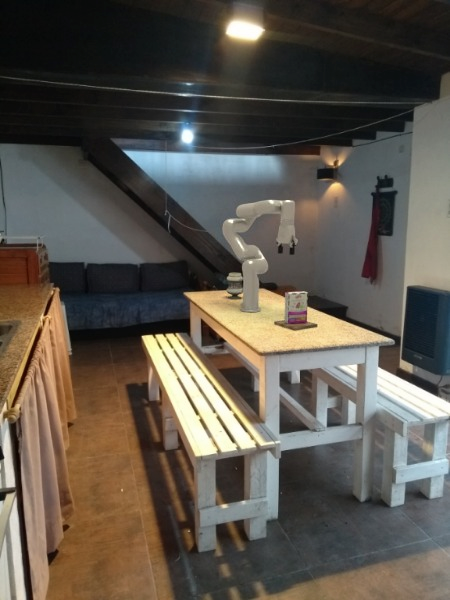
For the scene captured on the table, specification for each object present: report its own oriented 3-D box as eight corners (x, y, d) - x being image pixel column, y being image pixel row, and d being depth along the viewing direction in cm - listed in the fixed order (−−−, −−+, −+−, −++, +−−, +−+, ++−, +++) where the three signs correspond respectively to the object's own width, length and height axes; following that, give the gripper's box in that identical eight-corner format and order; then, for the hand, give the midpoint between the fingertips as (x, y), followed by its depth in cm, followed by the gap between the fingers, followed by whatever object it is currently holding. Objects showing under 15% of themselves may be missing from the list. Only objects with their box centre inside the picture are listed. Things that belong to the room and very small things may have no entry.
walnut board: (274, 324, 236) (274, 321, 236) (296, 320, 245) (296, 318, 245) (294, 330, 223) (294, 327, 223) (317, 326, 232) (317, 324, 232)
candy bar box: (302, 321, 238) (303, 291, 235) (307, 323, 233) (308, 292, 230) (283, 322, 235) (284, 291, 232) (287, 324, 230) (289, 293, 227)
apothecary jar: (224, 297, 317) (224, 272, 314) (240, 296, 321) (240, 272, 317) (229, 300, 306) (229, 274, 303) (245, 299, 309) (246, 274, 306)
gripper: (272, 222, 250) (271, 253, 253) (292, 223, 235) (291, 255, 238) (282, 223, 254) (281, 252, 257) (303, 223, 239) (301, 255, 242)
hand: (286, 254), depth 247 cm, fingers open, 9 cm apart
